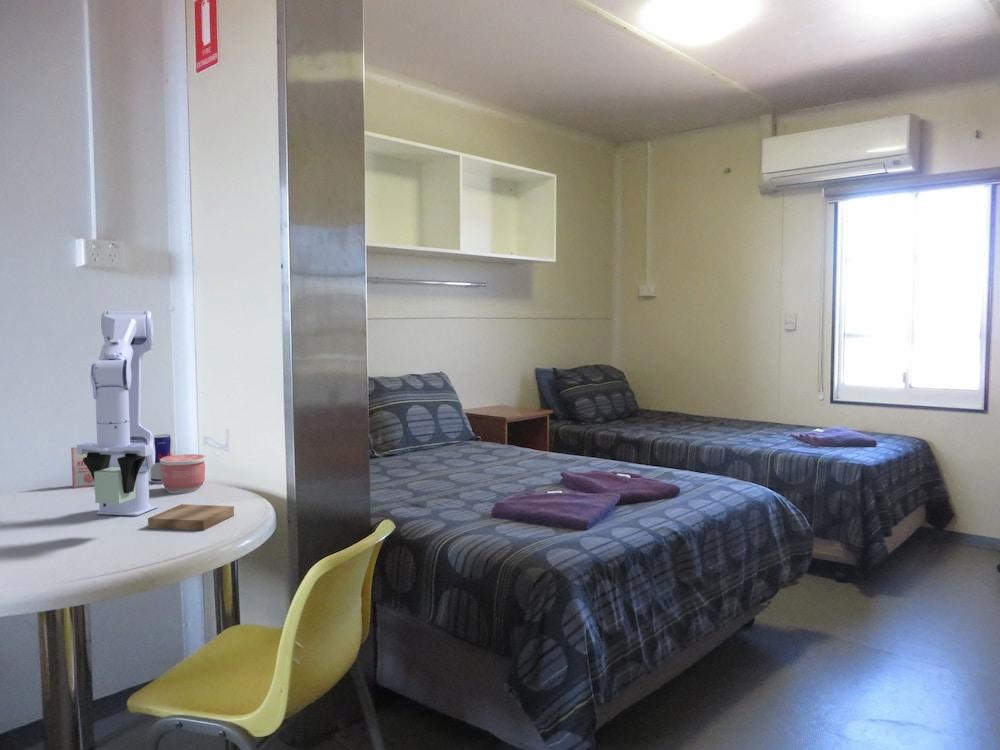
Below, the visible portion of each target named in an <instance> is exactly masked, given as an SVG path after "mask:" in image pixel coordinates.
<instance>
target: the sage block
mask: <svg viewBox="0 0 1000 750" xmlns="http://www.w3.org/2000/svg"><path fill="white" fill-rule="evenodd" d="M94 478H95V486H94V495H95V496H94V498H95V500H94V501H95V504H99V503H113V504H120V503H123V502H125V501H128V500H131V499H134V498H136V491H135V486H134V491H133V492H130V493H124V491H123V483H122V473H121V469H120V467H109V468H106V469H102V470H99V471H95V472H94Z"/></svg>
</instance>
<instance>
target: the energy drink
mask: <svg viewBox="0 0 1000 750" xmlns="http://www.w3.org/2000/svg"><path fill="white" fill-rule="evenodd" d="M153 436H154V444H155V464H154V466H153V467H152V468H149V470H150V483H152V484H155V485H156V484H158V485H159V484H162V485H163V483H162V472H161V466H162V464H160V459H161V458H164V457H168V456H174V455H173V453H174V452H173V437H172V434H167V433H166V434H153Z"/></svg>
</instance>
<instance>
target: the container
mask: <svg viewBox="0 0 1000 750" xmlns="http://www.w3.org/2000/svg"><path fill="white" fill-rule="evenodd" d="M206 460H207V457H206V456H205V455H203V454H195V453H194V454H193V453H192V454H191V453H189V454H188V453H187V454H176V455H173V456H168V457H164V458H161V459H160V464H162V466H161V472H162V485H163V487H164V488H165V489H166V490H167V491H168V492H167V493H169V492H172V493H171V494H188V493H193V492H197V491H200V490H201V487H202V486H203V485H204V482H205V479H206V463H205V461H206Z"/></svg>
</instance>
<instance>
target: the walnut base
mask: <svg viewBox="0 0 1000 750" xmlns="http://www.w3.org/2000/svg"><path fill="white" fill-rule="evenodd" d="M234 516H235V506H234V505H213V504H211V505H210V504H209V505H208V504H207V505H206V504H186V503H185V504H182V503H181V504H179V505H177V506H174V507H172V508H170V509H168V510H165V511H162V512H160V513H158V514H155V515H153V516H150V517H148V518H147V524H148V525H147V528H148V529H161V530H163V529H164V530H184V531H185V530H187V531H202V532H203V531H206V530H208V529H210V528H212V527H213V526H216V525H217V524H219V523H222V522H224V521H226V520H229V519H230V518H231V517H234Z"/></svg>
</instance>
